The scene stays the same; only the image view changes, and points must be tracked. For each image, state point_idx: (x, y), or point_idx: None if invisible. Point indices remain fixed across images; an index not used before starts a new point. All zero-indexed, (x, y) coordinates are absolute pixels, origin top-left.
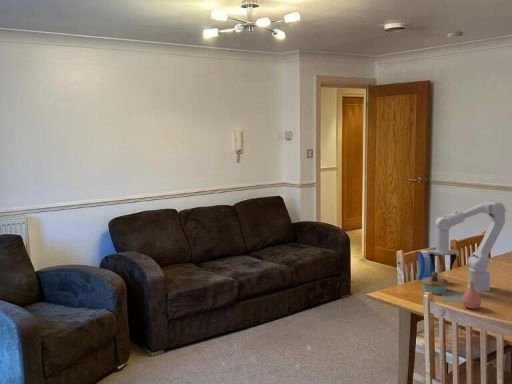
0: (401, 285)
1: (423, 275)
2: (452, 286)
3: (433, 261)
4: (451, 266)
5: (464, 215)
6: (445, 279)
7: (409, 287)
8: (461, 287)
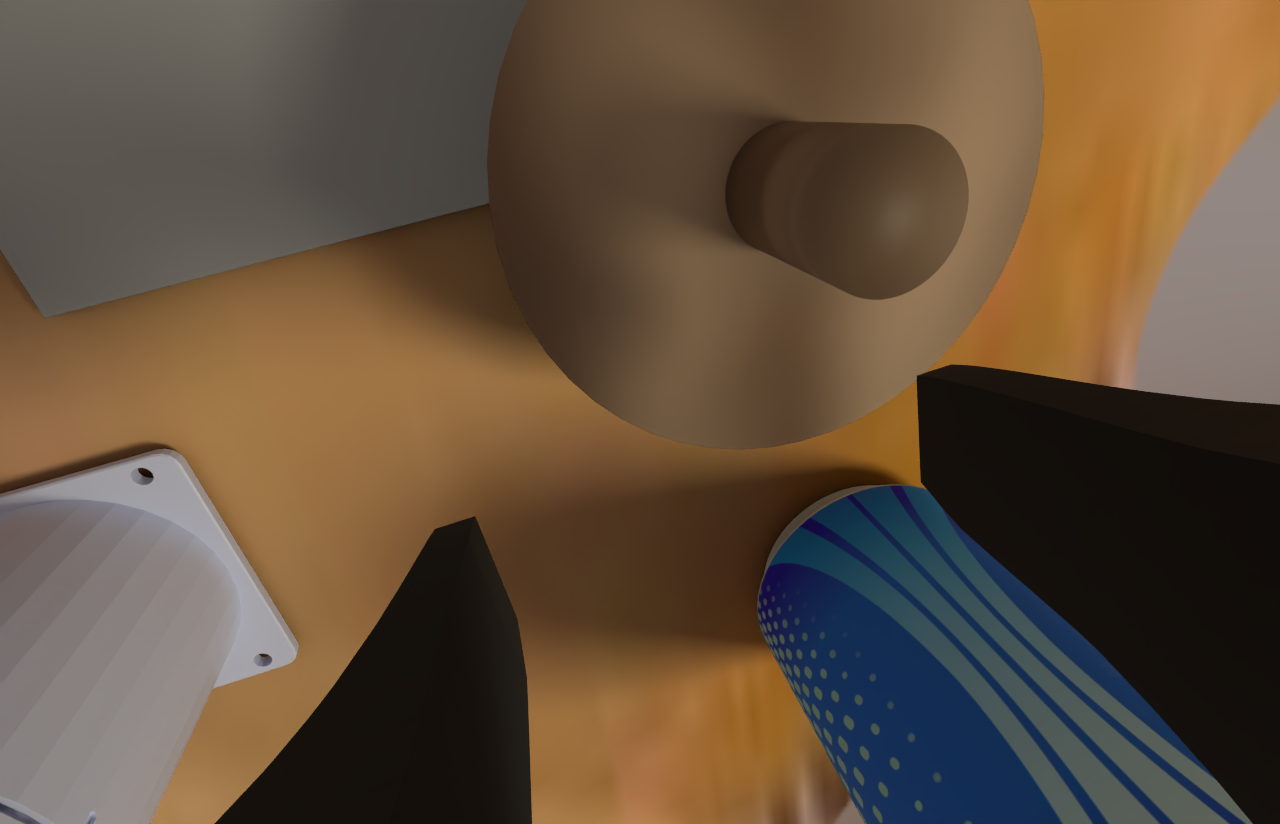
0: (1158, 249)
1: (952, 532)
2: (487, 527)
3: (1258, 429)
4: (420, 590)
5: None
6: (576, 382)
7: (1064, 203)
8: (350, 545)
